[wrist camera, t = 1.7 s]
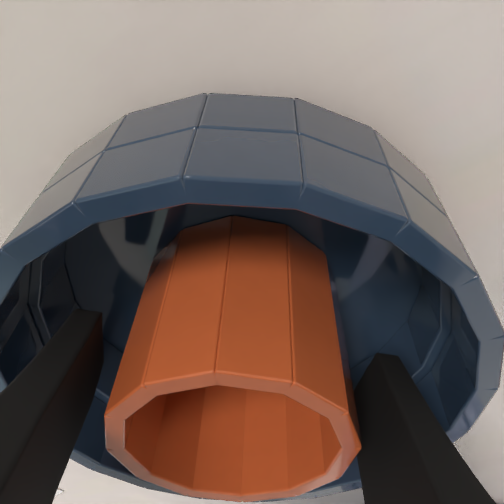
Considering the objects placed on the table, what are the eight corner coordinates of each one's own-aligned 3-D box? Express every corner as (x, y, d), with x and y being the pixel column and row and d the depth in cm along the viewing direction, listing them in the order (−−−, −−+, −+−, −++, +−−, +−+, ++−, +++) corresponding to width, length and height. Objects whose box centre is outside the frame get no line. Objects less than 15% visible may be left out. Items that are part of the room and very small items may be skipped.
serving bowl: (329, 417, 19) (341, 526, 16) (32, 345, 17) (-25, 457, 13) (543, 187, 12) (646, 303, 8) (65, -3, 9) (-46, 59, 6)
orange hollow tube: (306, 358, 16) (317, 511, 12) (148, 335, 15) (106, 488, 12) (359, 236, 12) (399, 397, 8) (155, 201, 12) (99, 355, 8)
